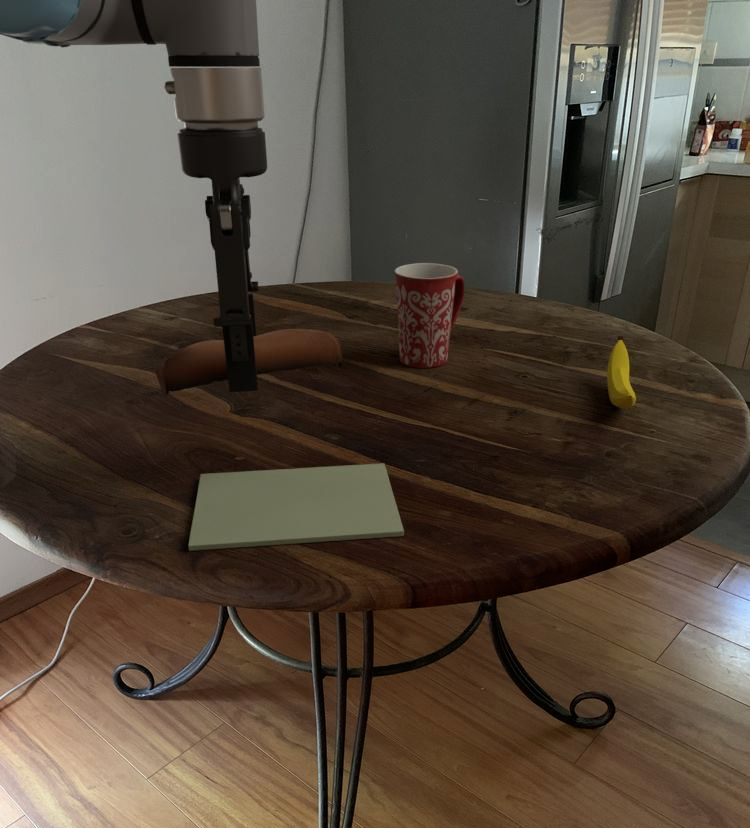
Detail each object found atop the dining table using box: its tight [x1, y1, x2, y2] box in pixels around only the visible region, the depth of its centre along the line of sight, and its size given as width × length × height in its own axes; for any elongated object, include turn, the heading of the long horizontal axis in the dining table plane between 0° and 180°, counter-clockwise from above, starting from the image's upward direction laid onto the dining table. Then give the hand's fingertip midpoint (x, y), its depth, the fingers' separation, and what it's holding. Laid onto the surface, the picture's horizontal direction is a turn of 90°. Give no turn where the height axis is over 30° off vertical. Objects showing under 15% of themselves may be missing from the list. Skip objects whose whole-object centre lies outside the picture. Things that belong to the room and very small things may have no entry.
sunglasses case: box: [155, 328, 343, 397], centre depth 74 cm, size 18×7×7 cm, turn 115°
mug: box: [393, 262, 466, 369], centre depth 109 cm, size 13×9×14 cm
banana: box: [606, 335, 637, 410], centre depth 95 cm, size 3×19×6 cm, turn 168°
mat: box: [187, 462, 405, 552], centre depth 74 cm, size 20×14×1 cm
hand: (244, 371), depth 75 cm, fingers closed on sunglasses case, 9 cm apart
